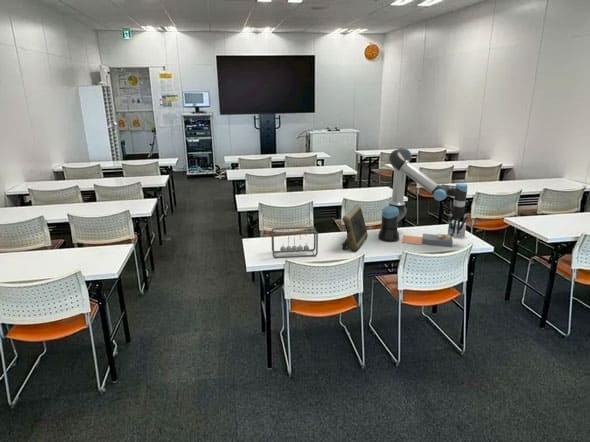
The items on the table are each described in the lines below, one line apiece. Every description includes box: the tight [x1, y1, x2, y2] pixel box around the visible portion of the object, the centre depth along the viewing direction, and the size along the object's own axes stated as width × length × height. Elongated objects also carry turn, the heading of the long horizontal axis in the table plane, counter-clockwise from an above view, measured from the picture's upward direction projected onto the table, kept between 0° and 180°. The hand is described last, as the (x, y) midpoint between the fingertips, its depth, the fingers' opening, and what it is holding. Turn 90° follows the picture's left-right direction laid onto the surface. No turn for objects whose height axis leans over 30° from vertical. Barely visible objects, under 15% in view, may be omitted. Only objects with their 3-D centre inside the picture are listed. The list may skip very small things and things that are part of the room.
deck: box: [422, 233, 454, 248], centre depth 287 cm, size 20×12×4 cm, turn 72°
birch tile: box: [436, 233, 450, 240], centre depth 285 cm, size 8×6×2 cm
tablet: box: [341, 204, 369, 253], centre depth 283 cm, size 33×14×25 cm, turn 162°
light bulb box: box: [446, 219, 467, 239], centre depth 299 cm, size 11×7×11 cm, turn 43°
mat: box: [401, 234, 423, 246], centre depth 292 cm, size 14×16×1 cm
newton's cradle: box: [270, 226, 319, 259], centre depth 266 cm, size 30×10×18 cm, turn 96°
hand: (454, 237), depth 282 cm, fingers closed
